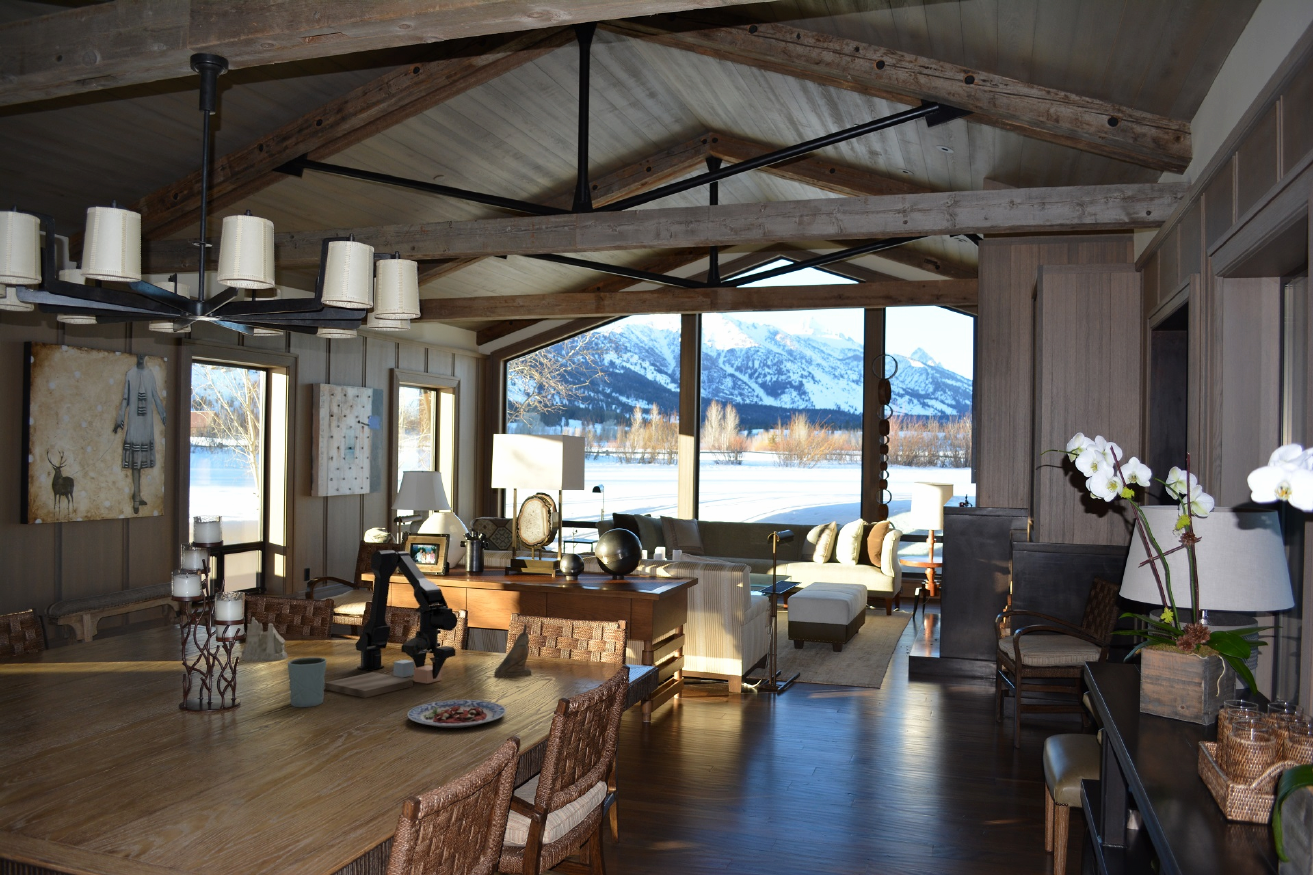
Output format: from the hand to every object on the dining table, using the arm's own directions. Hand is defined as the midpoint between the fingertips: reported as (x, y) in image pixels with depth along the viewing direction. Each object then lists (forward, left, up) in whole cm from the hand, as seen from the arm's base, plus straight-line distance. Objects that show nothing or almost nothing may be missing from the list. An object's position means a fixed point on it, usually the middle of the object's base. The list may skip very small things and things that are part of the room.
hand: (427, 677), depth 292 cm
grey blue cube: (-12, +1, -1) cm, 12 cm away
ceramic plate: (+40, -27, -2) cm, 48 cm away
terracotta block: (0, 0, -1) cm, 1 cm away
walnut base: (-7, -17, -1) cm, 18 cm away
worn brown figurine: (+16, +22, -1) cm, 27 cm away
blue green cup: (-6, -40, -1) cm, 40 cm away
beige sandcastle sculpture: (-73, -7, -2) cm, 73 cm away
